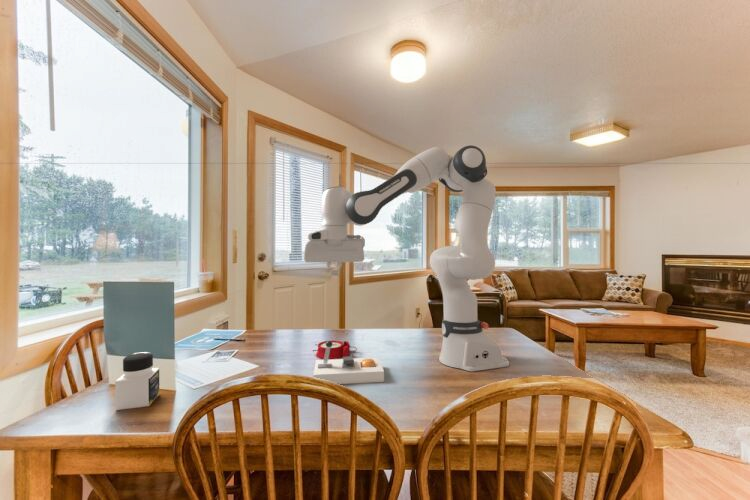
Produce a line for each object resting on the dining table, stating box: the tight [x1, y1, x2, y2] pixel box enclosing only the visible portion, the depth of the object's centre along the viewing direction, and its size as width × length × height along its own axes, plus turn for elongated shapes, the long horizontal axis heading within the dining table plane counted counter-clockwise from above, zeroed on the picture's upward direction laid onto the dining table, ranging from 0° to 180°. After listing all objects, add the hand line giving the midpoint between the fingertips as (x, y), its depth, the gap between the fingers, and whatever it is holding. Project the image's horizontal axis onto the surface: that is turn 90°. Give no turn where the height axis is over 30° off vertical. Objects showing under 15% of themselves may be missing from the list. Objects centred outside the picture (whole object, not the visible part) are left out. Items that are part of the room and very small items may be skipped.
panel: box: [312, 356, 385, 385], centre depth 97 cm, size 20×12×3 cm, turn 97°
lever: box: [323, 340, 332, 364], centre depth 96 cm, size 2×2×7 cm
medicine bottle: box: [114, 351, 160, 411], centre depth 81 cm, size 7×7×12 cm
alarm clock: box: [312, 340, 358, 360], centre depth 116 cm, size 10×6×15 cm
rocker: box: [342, 355, 354, 364], centre depth 97 cm, size 3×7×1 cm, turn 7°
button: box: [362, 359, 374, 368], centre depth 98 cm, size 4×4×4 cm
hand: (334, 275), depth 110 cm, fingers closed
